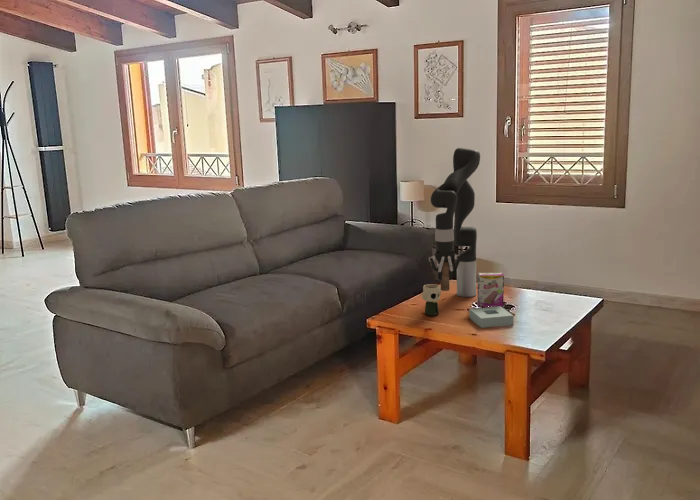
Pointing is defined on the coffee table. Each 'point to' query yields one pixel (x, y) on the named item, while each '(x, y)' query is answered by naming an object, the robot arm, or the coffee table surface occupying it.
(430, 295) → the character mug
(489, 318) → the socket
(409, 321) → the coffee table surface
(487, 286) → the candy bar box
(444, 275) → the peg
